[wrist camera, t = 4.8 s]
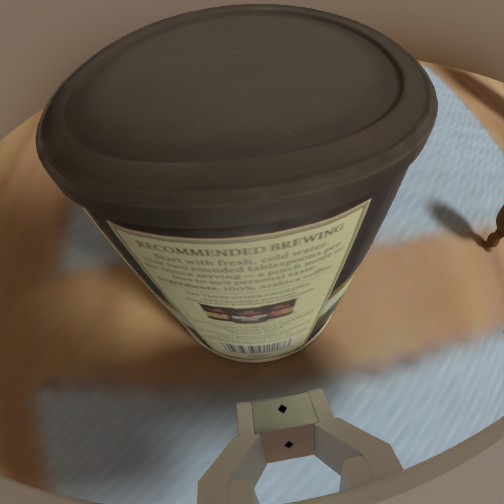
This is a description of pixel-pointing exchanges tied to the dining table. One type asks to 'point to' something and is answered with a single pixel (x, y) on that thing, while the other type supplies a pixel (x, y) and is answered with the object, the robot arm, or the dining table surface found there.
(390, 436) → the dining table surface
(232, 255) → the coffee can
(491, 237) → the place setting
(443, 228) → the dining table surface
